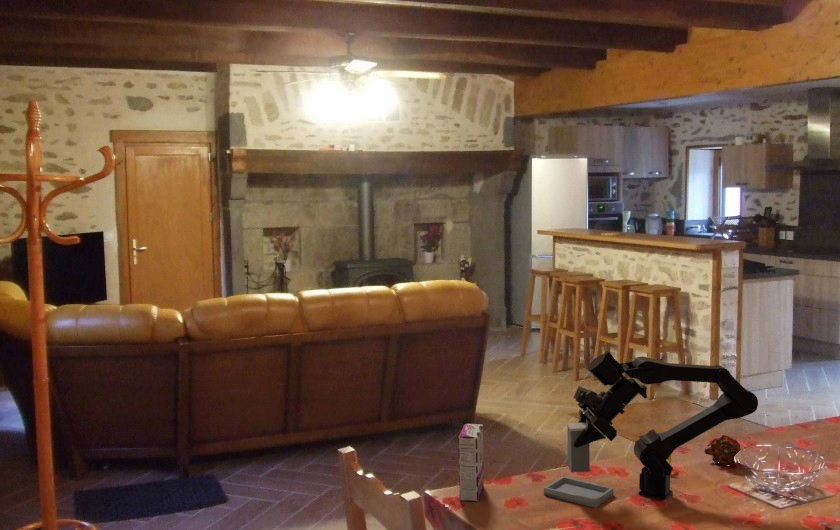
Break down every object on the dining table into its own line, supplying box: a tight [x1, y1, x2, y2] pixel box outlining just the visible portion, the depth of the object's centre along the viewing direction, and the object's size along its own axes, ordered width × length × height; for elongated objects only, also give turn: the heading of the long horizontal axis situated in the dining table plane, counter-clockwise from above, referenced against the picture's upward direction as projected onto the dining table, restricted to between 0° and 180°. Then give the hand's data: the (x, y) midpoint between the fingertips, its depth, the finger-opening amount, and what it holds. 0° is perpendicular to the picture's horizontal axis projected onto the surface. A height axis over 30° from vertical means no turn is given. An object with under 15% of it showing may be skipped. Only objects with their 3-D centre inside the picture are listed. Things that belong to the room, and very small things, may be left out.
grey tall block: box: [566, 422, 591, 473], centre depth 200 cm, size 5×5×11 cm
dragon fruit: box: [703, 434, 742, 466], centre depth 223 cm, size 8×8×12 cm
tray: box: [543, 476, 614, 509], centre depth 201 cm, size 14×10×2 cm
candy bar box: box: [457, 423, 485, 503], centre depth 203 cm, size 11×5×16 cm, turn 168°
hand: (572, 443), depth 200 cm, fingers closed on grey tall block, 4 cm apart
